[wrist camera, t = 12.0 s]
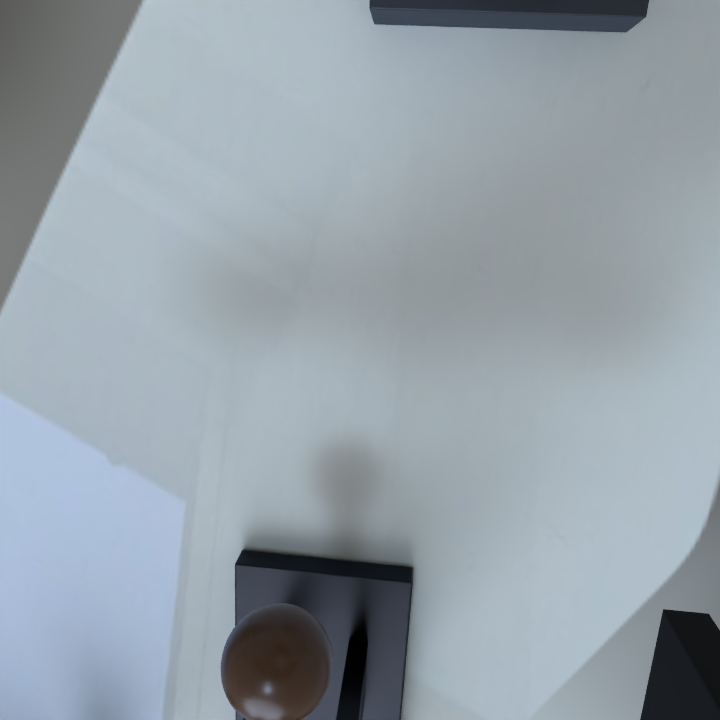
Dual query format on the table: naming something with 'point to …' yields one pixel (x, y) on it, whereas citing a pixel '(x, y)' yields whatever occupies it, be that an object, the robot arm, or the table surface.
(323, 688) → the flush lever
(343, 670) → the lever bracket
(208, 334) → the table surface
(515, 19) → the button housing
